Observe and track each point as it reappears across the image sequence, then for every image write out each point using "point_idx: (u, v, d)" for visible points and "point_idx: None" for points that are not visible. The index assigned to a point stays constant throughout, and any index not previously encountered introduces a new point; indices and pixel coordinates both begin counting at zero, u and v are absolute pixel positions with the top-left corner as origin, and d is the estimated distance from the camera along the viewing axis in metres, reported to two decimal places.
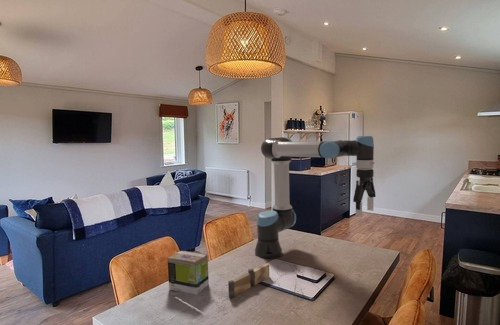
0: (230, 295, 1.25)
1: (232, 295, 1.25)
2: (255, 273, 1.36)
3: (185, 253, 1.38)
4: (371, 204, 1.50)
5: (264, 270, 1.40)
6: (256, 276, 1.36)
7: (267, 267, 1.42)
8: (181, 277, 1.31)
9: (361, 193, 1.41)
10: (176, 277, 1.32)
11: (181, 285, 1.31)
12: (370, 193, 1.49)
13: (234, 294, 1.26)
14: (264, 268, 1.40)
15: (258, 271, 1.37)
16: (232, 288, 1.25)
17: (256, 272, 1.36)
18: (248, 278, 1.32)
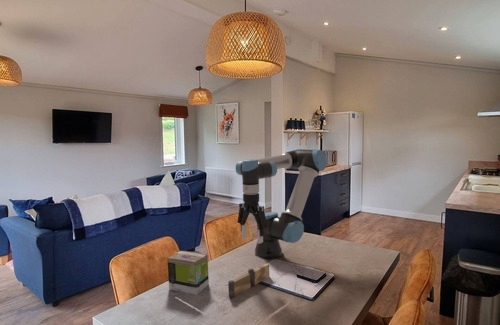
0: (230, 295, 1.25)
1: (232, 295, 1.25)
2: (255, 273, 1.36)
3: (185, 253, 1.38)
4: None
5: (264, 270, 1.40)
6: (256, 276, 1.36)
7: (267, 267, 1.42)
8: (181, 277, 1.31)
9: (243, 216, 1.45)
10: (176, 277, 1.32)
11: (181, 285, 1.31)
12: None
13: (234, 294, 1.26)
14: (264, 268, 1.40)
15: (258, 271, 1.37)
16: (232, 288, 1.25)
17: (256, 272, 1.36)
18: (248, 278, 1.32)
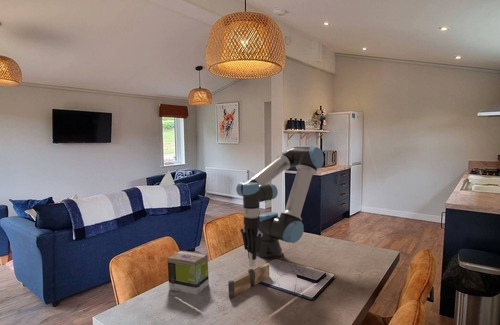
0: (230, 295, 1.25)
1: (232, 295, 1.25)
2: (255, 273, 1.36)
3: (185, 253, 1.38)
4: None
5: (264, 270, 1.40)
6: (256, 276, 1.36)
7: (267, 267, 1.42)
8: (181, 277, 1.31)
9: None
10: (176, 277, 1.32)
11: (181, 285, 1.31)
12: None
13: (234, 294, 1.26)
14: (264, 268, 1.40)
15: (258, 271, 1.37)
16: (232, 288, 1.25)
17: (256, 272, 1.36)
18: (248, 278, 1.32)
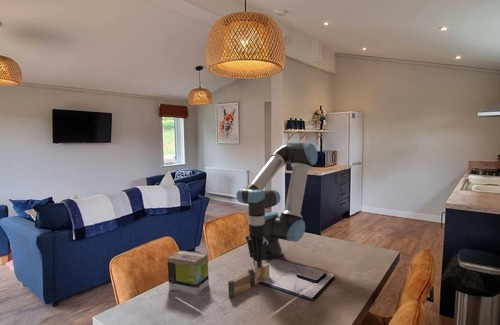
0: (230, 295, 1.25)
1: (232, 295, 1.25)
2: (255, 273, 1.36)
3: (185, 253, 1.38)
4: None
5: (264, 270, 1.40)
6: (256, 276, 1.36)
7: (267, 267, 1.42)
8: (181, 277, 1.31)
9: (253, 250, 1.42)
10: (176, 277, 1.32)
11: (181, 285, 1.31)
12: None
13: (234, 294, 1.26)
14: (264, 268, 1.40)
15: (258, 271, 1.37)
16: (232, 288, 1.25)
17: (256, 272, 1.36)
18: (248, 278, 1.32)
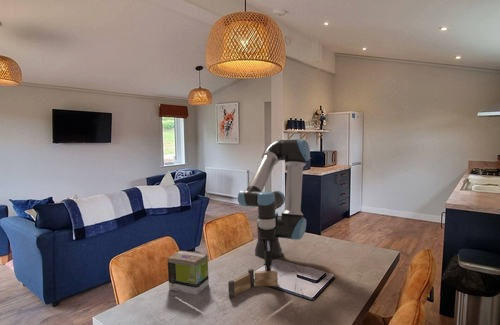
0: (230, 295, 1.25)
1: (232, 295, 1.25)
2: (255, 275, 1.34)
3: (185, 253, 1.38)
4: None
5: (269, 276, 1.34)
6: (256, 278, 1.34)
7: (274, 275, 1.34)
8: (181, 277, 1.31)
9: (265, 252, 1.39)
10: (176, 277, 1.32)
11: (181, 285, 1.31)
12: None
13: (234, 294, 1.26)
14: (269, 274, 1.34)
15: (260, 274, 1.34)
16: (232, 288, 1.25)
17: (256, 274, 1.34)
18: (248, 278, 1.32)
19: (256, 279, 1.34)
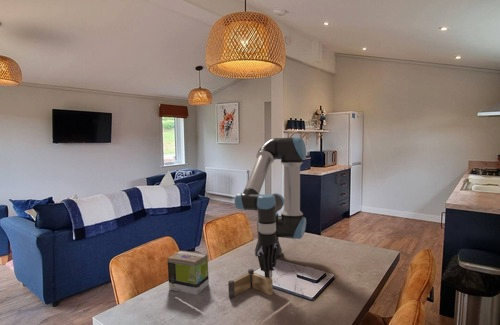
0: (230, 295, 1.25)
1: (232, 295, 1.25)
2: (253, 276, 1.33)
3: (185, 253, 1.38)
4: None
5: (263, 282, 1.29)
6: (253, 280, 1.32)
7: (267, 282, 1.27)
8: (181, 277, 1.31)
9: None
10: (176, 277, 1.32)
11: (181, 285, 1.31)
12: None
13: (234, 294, 1.26)
14: (263, 280, 1.28)
15: (256, 277, 1.31)
16: (232, 288, 1.25)
17: (253, 275, 1.32)
18: (248, 278, 1.32)
19: (253, 281, 1.33)
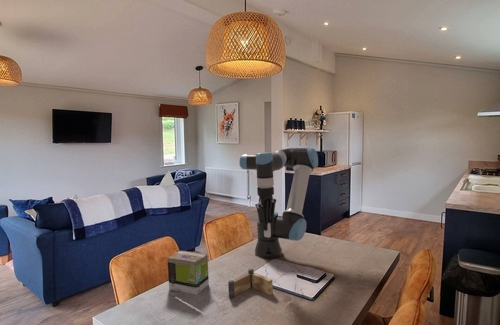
0: (230, 295, 1.25)
1: (232, 295, 1.25)
2: (253, 276, 1.33)
3: (185, 253, 1.38)
4: None
5: (263, 282, 1.29)
6: (253, 280, 1.32)
7: (267, 282, 1.27)
8: (181, 277, 1.31)
9: None
10: (176, 277, 1.32)
11: (181, 285, 1.31)
12: None
13: (234, 294, 1.26)
14: (263, 280, 1.28)
15: (256, 277, 1.31)
16: (232, 288, 1.25)
17: (253, 275, 1.32)
18: (248, 278, 1.32)
19: (253, 281, 1.33)
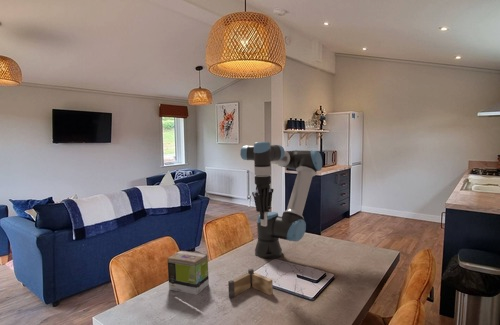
0: (230, 295, 1.25)
1: (232, 295, 1.25)
2: (253, 276, 1.33)
3: (185, 253, 1.38)
4: None
5: (263, 282, 1.29)
6: (253, 280, 1.32)
7: (267, 282, 1.27)
8: (181, 277, 1.31)
9: None
10: (176, 277, 1.32)
11: (181, 285, 1.31)
12: None
13: (234, 294, 1.26)
14: (263, 280, 1.28)
15: (256, 277, 1.31)
16: (232, 288, 1.25)
17: (253, 275, 1.32)
18: (248, 278, 1.32)
19: (253, 281, 1.33)
